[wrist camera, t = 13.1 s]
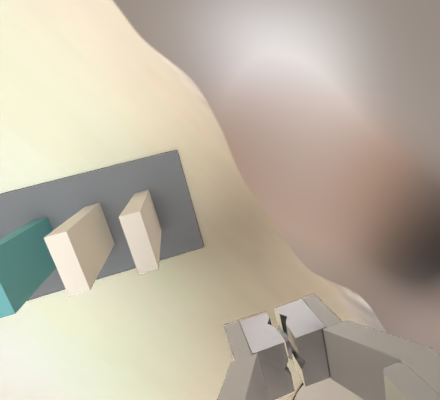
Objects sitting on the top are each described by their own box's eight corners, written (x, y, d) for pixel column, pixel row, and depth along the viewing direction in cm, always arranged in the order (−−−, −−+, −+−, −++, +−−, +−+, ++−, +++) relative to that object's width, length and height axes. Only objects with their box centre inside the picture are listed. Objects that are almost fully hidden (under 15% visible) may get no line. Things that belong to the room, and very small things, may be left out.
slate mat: (176, 149, 30) (177, 149, 30) (203, 245, 33) (203, 246, 32) (-146, 230, 26) (-151, 231, 25) (-83, 332, 29) (-87, 335, 28)
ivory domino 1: (99, 202, 29) (66, 231, 20) (114, 243, 30) (90, 290, 21) (84, 206, 29) (43, 237, 19) (100, 248, 30) (69, 296, 21)
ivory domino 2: (148, 189, 30) (139, 211, 20) (161, 230, 31) (158, 269, 21) (134, 193, 30) (118, 217, 20) (148, 234, 31) (139, 275, 21)
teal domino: (47, 216, 28) (-15, 253, 19) (64, 258, 30) (15, 313, 20) (31, 220, 28) (-39, 260, 19) (49, 262, 29) (-8, 320, 20)
